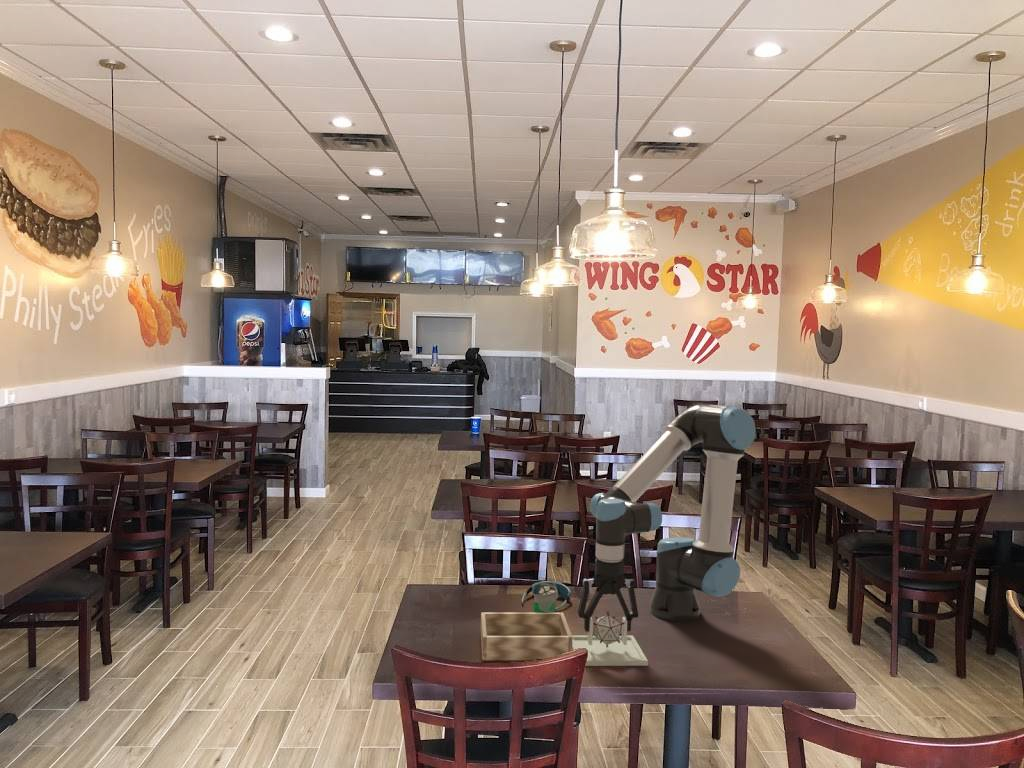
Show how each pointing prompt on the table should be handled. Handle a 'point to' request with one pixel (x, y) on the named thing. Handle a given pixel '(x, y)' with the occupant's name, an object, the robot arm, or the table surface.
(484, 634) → the birch crate
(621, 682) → the table surface
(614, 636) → the game die
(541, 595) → the food container
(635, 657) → the tray
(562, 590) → the sunglasses
